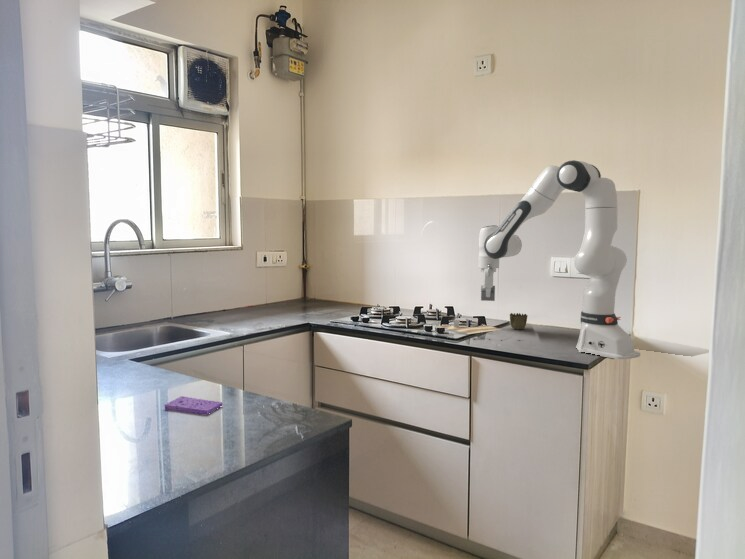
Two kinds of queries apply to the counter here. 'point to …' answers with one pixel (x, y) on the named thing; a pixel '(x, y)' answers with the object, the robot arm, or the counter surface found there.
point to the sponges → (192, 405)
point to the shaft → (456, 323)
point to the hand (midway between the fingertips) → (487, 296)
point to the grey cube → (483, 294)
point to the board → (471, 329)
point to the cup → (518, 321)
